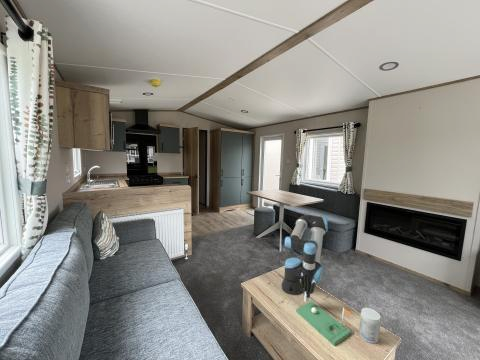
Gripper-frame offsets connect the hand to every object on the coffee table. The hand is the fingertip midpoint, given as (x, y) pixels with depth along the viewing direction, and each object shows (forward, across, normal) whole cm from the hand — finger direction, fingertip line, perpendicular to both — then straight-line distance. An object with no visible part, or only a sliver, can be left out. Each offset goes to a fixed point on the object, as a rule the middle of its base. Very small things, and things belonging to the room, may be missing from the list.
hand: (306, 300), depth 139 cm
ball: (+3, +6, 0) cm, 7 cm away
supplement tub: (+7, +32, +15) cm, 36 cm away
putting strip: (+6, +12, 0) cm, 14 cm away
